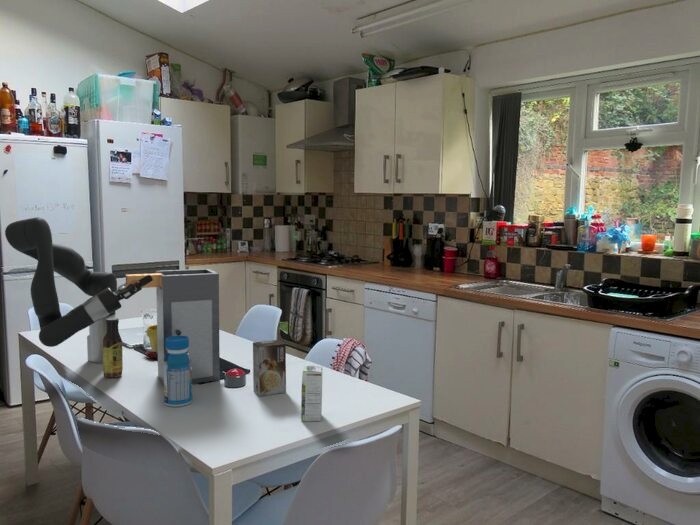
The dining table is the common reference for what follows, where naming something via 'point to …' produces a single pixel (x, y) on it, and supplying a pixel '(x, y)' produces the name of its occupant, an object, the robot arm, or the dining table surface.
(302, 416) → the drink carton
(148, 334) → the plant pot
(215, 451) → the dining table surface
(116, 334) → the sauce bottle
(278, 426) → the dining table surface
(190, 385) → the beverage bottle
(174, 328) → the small grey cabinet
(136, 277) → the wooden handled hammer
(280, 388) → the coffee box
